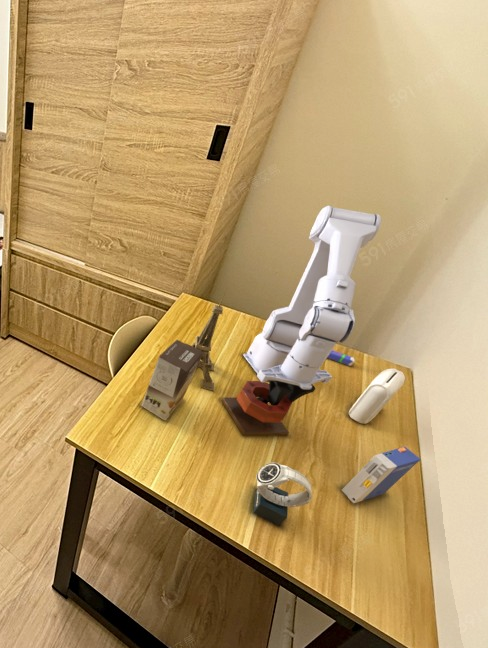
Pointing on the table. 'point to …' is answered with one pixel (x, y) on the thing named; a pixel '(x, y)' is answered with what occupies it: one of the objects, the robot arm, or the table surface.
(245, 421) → the post
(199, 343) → the eiffel tower
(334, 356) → the eraser
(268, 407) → the ring
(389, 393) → the white wireless mouse
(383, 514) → the table surface
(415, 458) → the walkman
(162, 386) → the coffee box
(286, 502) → the watch
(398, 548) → the table surface
